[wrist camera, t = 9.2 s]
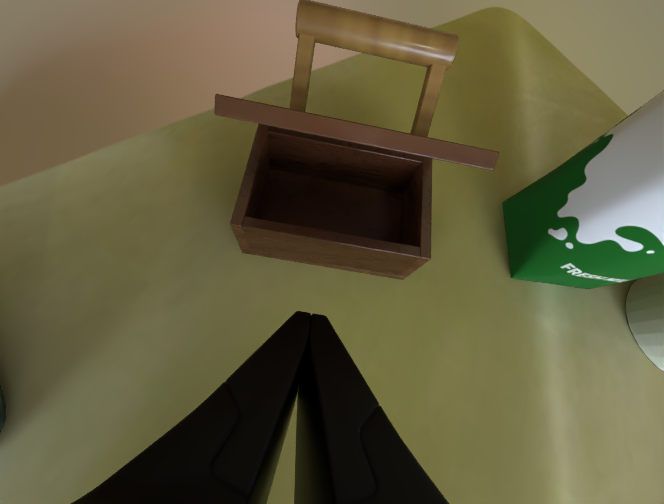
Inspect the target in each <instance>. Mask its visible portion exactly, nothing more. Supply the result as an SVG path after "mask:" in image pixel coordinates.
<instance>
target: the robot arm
mask: <svg viewBox="0 0 664 504" xmlns="http://www.w3.org/2000/svg"><path fill="white" fill-rule="evenodd" d="M298 388H299V389H298ZM297 392H298V399H297V427H296V460H295V493H294V504H449V503H448V502H447V500H446V499H445V498H444V496H443V495H442V494H441V492H440V491H439V490H438V488H437V487H436V486H435V484H434V483H433V482H432V480H431V479H430V478H429V476H428V475H427V474H426V472H425V471H424V470H423V468H422V467H421V466H420V464H419V463H418V462H417V460H416V459H415V457H414V456H413V455H412V453H411V452H410V450H409V449H408V448H407V446H406V445H405V443H404V442H403V441H402V439H401V438H400V436H399V435H398V433H397V431H396V430H395V428H394V427H393V425H392V424H391V422H390V421H389V419H388V417H387V416H386V414H385V412H384V411H383V409H382V407H381V406H379V403H378V401H377V399H376V398H375V396H374V394H373V393H372V391H371V389H370V388H369V386H368V385H367V383H366V381H365V380H364V378H363V376H362V375H361V373H360V371H359V370H358V368H357V366H356V365H355V363H354V361H353V360H352V358H351V356H350V355H349V353H348V351H347V350H346V348H345V346H344V345H343V343H342V342H341V340H340V338H339V337H338V335H337V333H336V332H335V330H334V328H333V327H332V325H331V323H330V322H329V320H328V318H327V317H326V316H324V315H318V314H312V315H311V314H310V313H307V312H301V311H297V312H295V313H294V314H293V315H292V316H291V317H290V318H289V319H288V320H287V321H286V322H285V323H284V324H283V325H282V326H281V327H280V328H279V329H278V330H277V331H276V332H275V333H274V334H273V335H272V336H271V337H270V338H269V339H268V340H267V341H266V342H265V343H264V344H263V345H262V346H261V347H259V348H258V349H257V350H256V351H255V352H254V353H253V354H252V355H251V356H250V357H249V358H248V359H247V360H246V361H245V362H244V363H243V364H242V365H241V366H240V367H239V368H238V369H237V370H236V371H235V372H234V373H233V374H232V375H231V376H230V377H229V378H228V379H227V380H226V382H224V383H223V384H222V385H221V386H220V387H219V388H217V389H216V390H215V391H214V392H213V393H212V394H211V395H210V396H209V397H208V398H207V399H206V400H205V401H204V402H203V403H202V404H200V405H199V406H198V407H197V408H196V409H195V410H194V411H193V412H191V413H190V414H189V415H188V416H187V417H185V418H184V419H183V420H182V421H180V422H179V423H178V424H177V425H176V426H174V427H173V428H172V429H171V430H169V431H168V432H167V433H166V434H164V435H163V436H162V437H160V438H159V439H158V440H157V441H155V442H154V443H153V444H152V445H150V446H149V447H148V448H146V449H145V450H144V451H143V452H141V453H140V454H139V455H138V456H136V457H135V458H134V459H132V460H131V461H130V462H129V463H127V464H126V465H125V466H124V467H122V468H121V469H120V470H118V471H117V472H116V473H115V474H113V475H112V476H111V477H109V478H108V479H107V480H106V481H104V482H103V483H102V484H100V485H99V486H98V487H96V488H95V489H93V490H92V491H90V492H89V493H87V494H86V495H84V496H83V497H81V498H79V499H78V500H76V501H74V502H73V503H71V504H266V503H267V499H268V496H269V492H270V489H271V485H272V482H273V478H274V475H275V471H276V468H277V464H278V460H279V457H280V453H281V450H282V446H283V443H284V439H285V436H286V432H287V429H288V425H289V422H290V418H291V415H292V411H293V408H294V404H295V401H296V397H297Z"/></svg>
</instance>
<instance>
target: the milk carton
mask: <svg viewBox="0 0 664 504" xmlns="http://www.w3.org/2000/svg"><path fill="white" fill-rule="evenodd" d="M503 211H504V219H505V228H506V237H507V246H508V255H509V264H510V273H511V278H515V279H522V280H529V281H536V282H543V283H550V284H557V285H564V286H571V287H578V288H585V289H591V288H596V287H601V286H605V285H610V284H615V283H620V282H625V281H630V280H634V279H638V278H642V277H647V276H651V275H655V274H659V273H663V272H664V90H663V91H662V92H660V93H659V94H658V95H656V96H655V97H654V98H652V99H651V100H650V101H648V102H647V103H646V104H644V105H643V106H641V107H640V108H639V109H637V110H636V111H635V112H633V113H632V114H630V115H629V116H628V117H626V118H625V119H624V120H622V121H621V122H620V123H618V124H617V125H615V126H614V127H613V128H611V129H610V130H609V131H607V132H606V133H605V134H603V135H602V136H600V137H599V138H598V139H596V140H595V141H594V142H592V143H591V144H590V145H588V146H587V147H585V148H584V149H583V150H581V151H580V152H579V153H577V154H576V155H575V156H573V157H572V158H570V159H569V160H568V161H566V162H565V163H564V164H562V165H561V166H559V167H558V168H556V169H555V170H553V171H551V172H550V173H548V174H547V175H545V176H543V177H542V178H540V179H539V180H537V181H536V182H534V183H532V184H531V185H529V186H528V187H526V188H525V189H523V190H521V191H520V192H518V193H517V194H515V195H514V196H512V197H510V198H509V199H507V200H506V201H504V202H503Z"/></svg>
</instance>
